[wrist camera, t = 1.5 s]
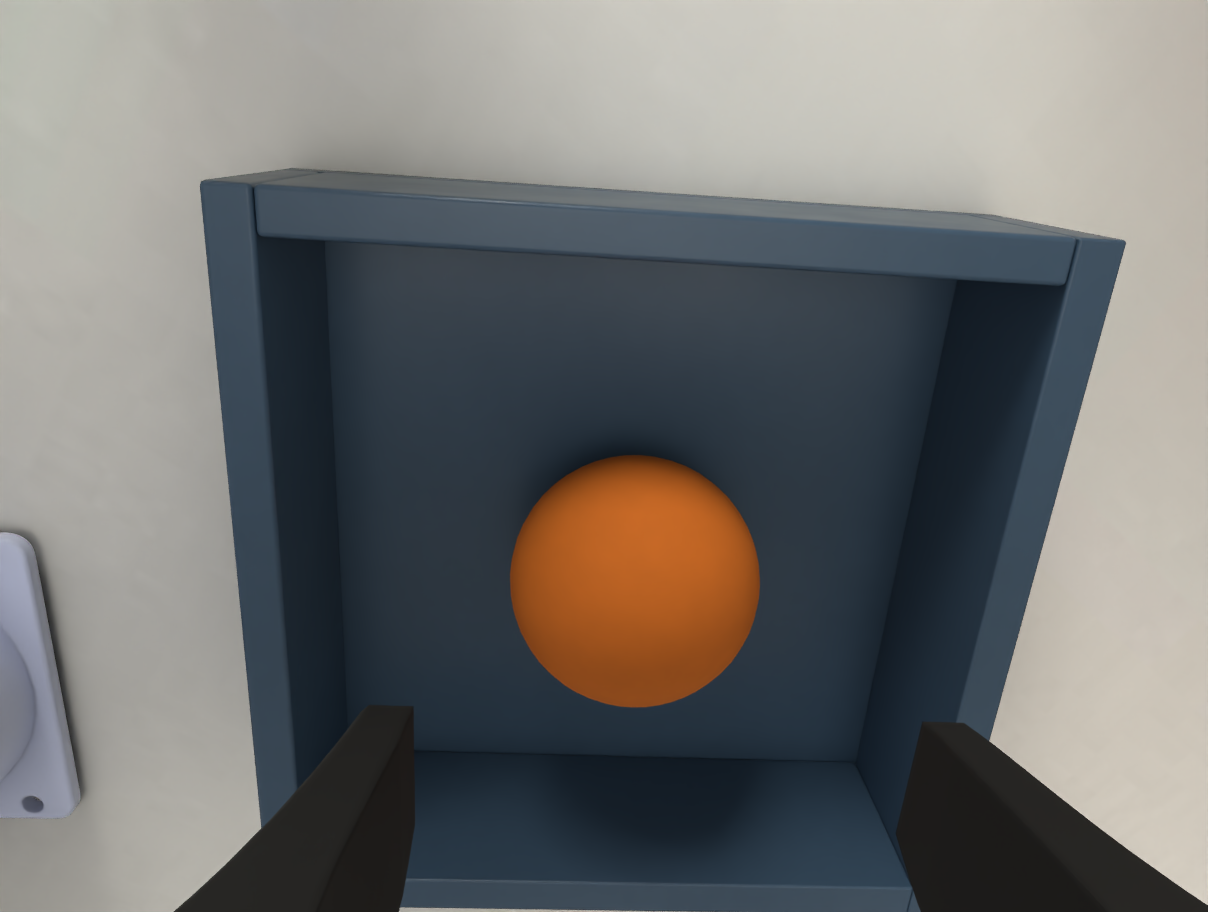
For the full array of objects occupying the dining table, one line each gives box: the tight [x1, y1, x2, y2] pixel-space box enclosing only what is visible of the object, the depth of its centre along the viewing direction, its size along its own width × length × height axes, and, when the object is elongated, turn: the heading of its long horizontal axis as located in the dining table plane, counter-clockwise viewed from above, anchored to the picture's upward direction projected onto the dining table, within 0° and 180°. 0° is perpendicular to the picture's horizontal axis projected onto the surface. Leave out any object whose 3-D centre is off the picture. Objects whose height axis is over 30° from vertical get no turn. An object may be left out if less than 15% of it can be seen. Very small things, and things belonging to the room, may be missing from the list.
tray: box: [200, 168, 1126, 912], centre depth 18 cm, size 15×15×5 cm
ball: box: [510, 455, 760, 707], centre depth 17 cm, size 5×5×5 cm
